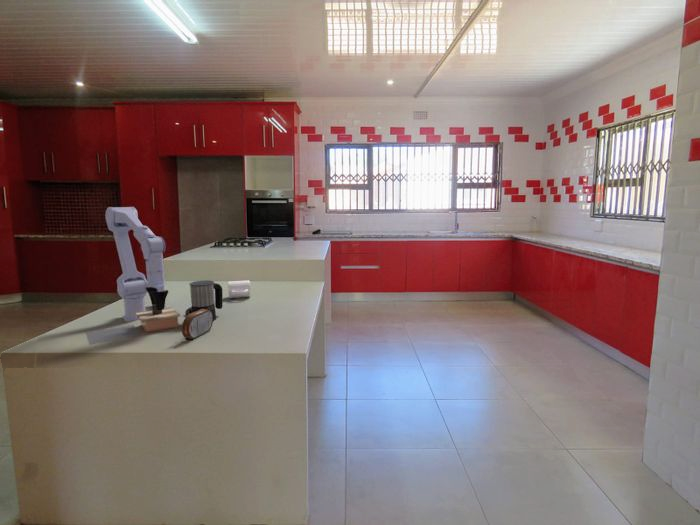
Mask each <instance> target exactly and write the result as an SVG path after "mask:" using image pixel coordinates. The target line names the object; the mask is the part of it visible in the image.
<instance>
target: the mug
mask: <svg viewBox="0 0 700 525" xmlns="http://www.w3.org/2000/svg"><path fill="white" fill-rule="evenodd" d="M227 291H228V299H238V298H239V299H240V298H250V297H251V296H252V295H251V281H250V280H249V279H247V280H234V281H227Z"/></svg>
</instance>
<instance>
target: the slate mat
mask: <svg viewBox="0 0 700 525" xmlns="http://www.w3.org/2000/svg"><path fill="white" fill-rule="evenodd" d="M85 334H86V337H87V340H88V343H89V345H94V344H101V343H105V342H111V341H117V340H122V339H130V338H134V337H139V336H142V335H141V333H140V331H139V330H138V328H136V326H135V325H134V324H132V325H125V326H118V327H112V328H106V329H99V330H94V331H88V332H85Z"/></svg>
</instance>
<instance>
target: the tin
mask: <svg viewBox="0 0 700 525" xmlns="http://www.w3.org/2000/svg"><path fill="white" fill-rule="evenodd" d="M182 321H183V322H182V325H181V333H182V336H183V338H185V339H191V340H194V339H197V338H199V337H201V336H203V335H205V334H206V333H208V332H209V331H210V330H211V329H212V327H213V323H214V322H213V321H214V320H213V313H212V312H211V311H210V310H206V309H201V310H198V311H196V312H193V313H191V314H189V315H185V318H184V320H182Z"/></svg>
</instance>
